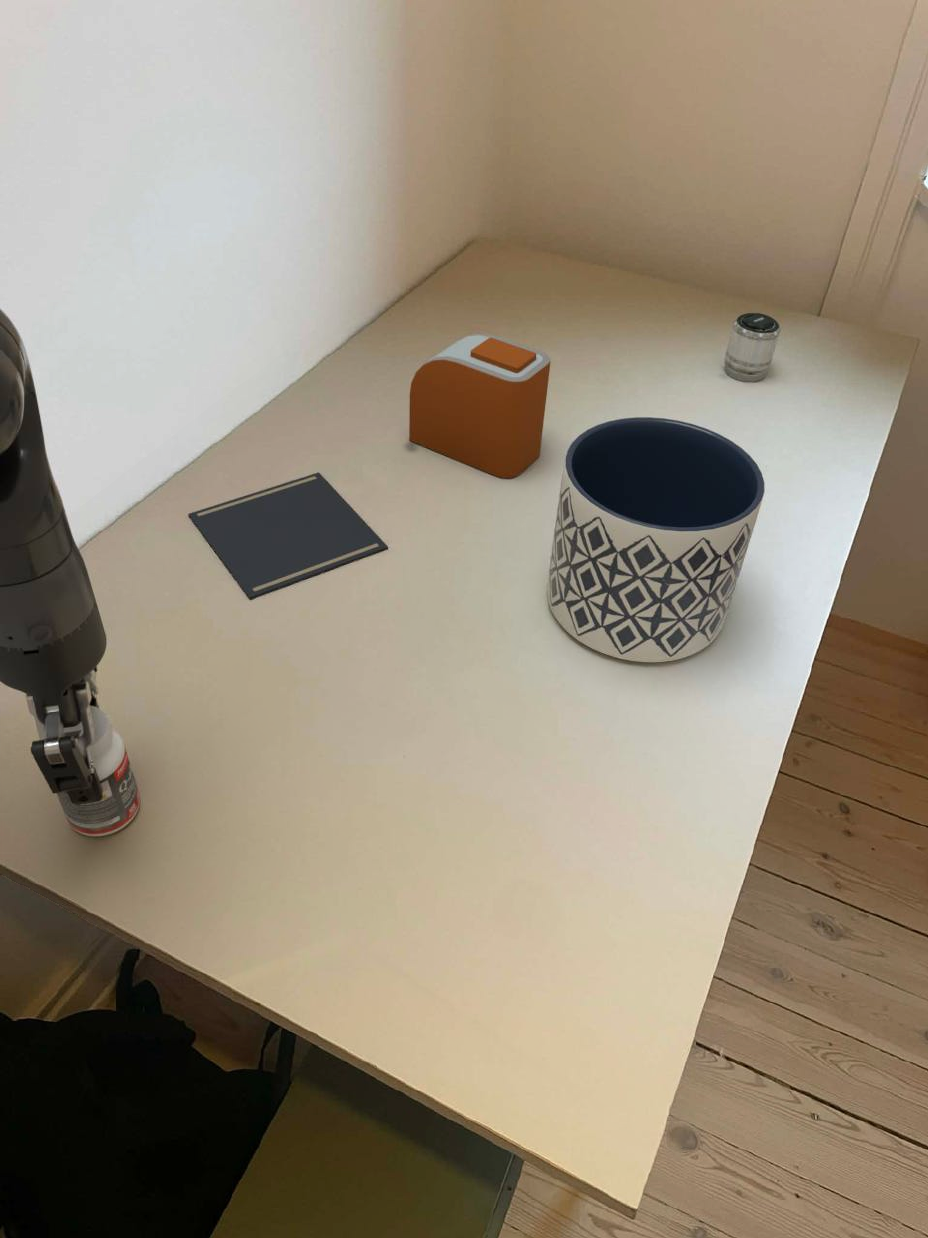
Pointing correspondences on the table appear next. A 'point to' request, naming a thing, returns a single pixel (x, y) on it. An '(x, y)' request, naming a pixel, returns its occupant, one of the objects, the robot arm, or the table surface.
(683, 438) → the planter
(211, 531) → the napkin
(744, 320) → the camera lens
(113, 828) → the pill bottle
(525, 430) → the alarm clock
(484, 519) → the table surface
